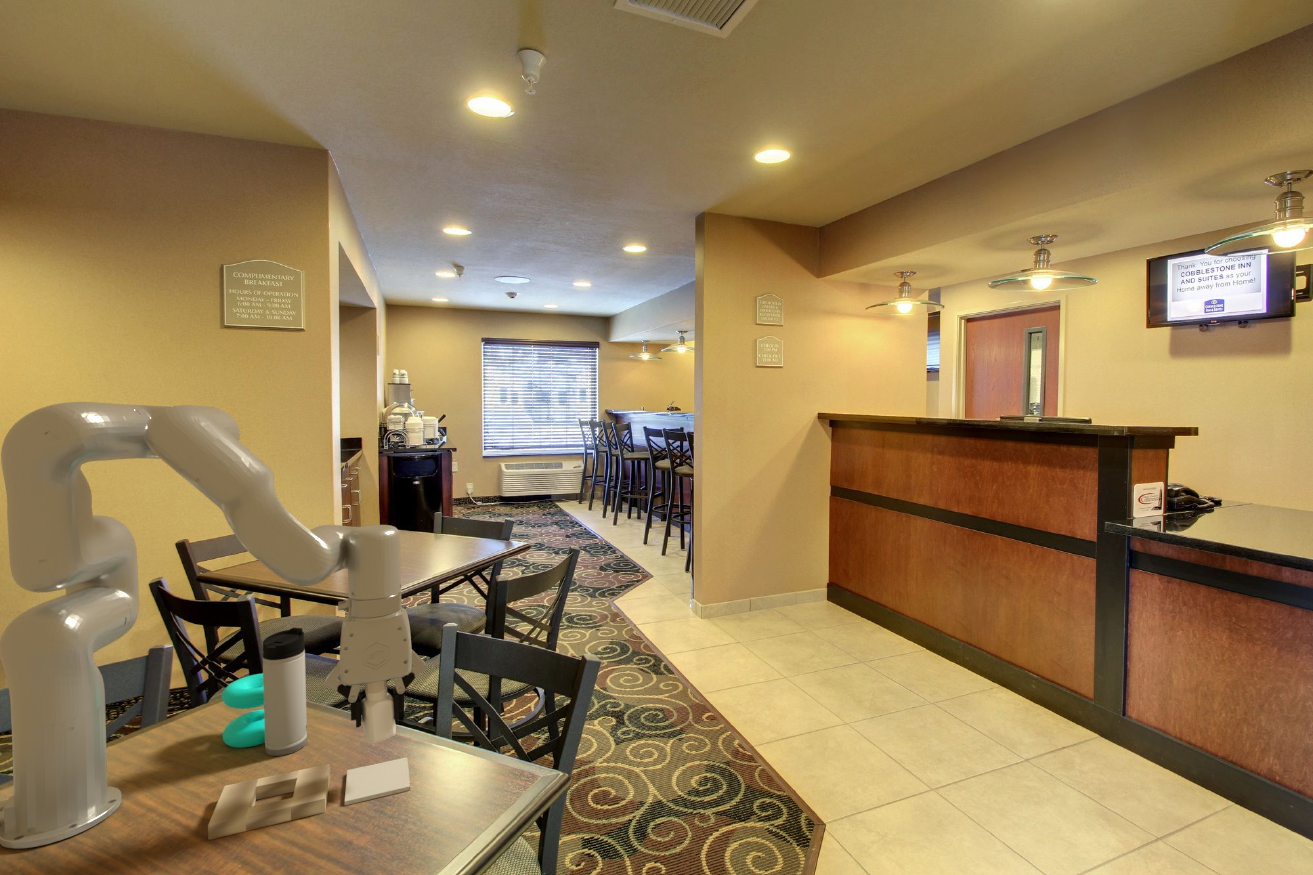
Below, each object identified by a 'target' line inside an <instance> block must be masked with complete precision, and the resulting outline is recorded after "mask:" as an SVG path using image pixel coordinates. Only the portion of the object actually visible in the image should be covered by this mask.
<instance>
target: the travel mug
mask: <svg viewBox="0 0 1313 875" xmlns="http://www.w3.org/2000/svg"><path fill="white" fill-rule="evenodd" d="M262 652H263V653H262V673H263V685H264V705H263V709H264V721H265V743H264V749H265V750H264V751H265V753H266V754H267V755H269V756H272V757H273V756H274V757H278V756H279V757H280V756H286V755H290V754H293V753H295V752H297V751H299V750H301V749H302V748H303V747H305V746H306V744H307V742H308V730H307V729H308V728H307V727H308V725H307V724H308V723H307V722H308V721H307V720H308V719H307V718H308V717H307V691H306V690H307V688H306V687H307V686H306V685H307V682H306V681H307V680H306V649H305V632H304V631H303V628H302V627H291V628H290V629H287V630H281V631H278V632H275V633H273V634H270V635H269V636H267V637H266V638H264V640H263V641H262Z"/></svg>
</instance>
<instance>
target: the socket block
mask: <svg viewBox="0 0 1313 875" xmlns="http://www.w3.org/2000/svg"><path fill="white" fill-rule="evenodd" d="M330 780H331V764H330V763H327V764H323V765H322V764H321V765H318V766H312V767H307V768H303V769H298V770H294V771H288V772H285V773H279V774H274V775H269V776H266V777H265V776H264V777H261V778H256V779H250V780H246V781H242V782H237V783H232V784H226V785H224V786H223V789H222V791H221V794H220V796H219V799H218V801H217V803H216V805H215V808H214V810H213V812H212V815H211V818H210V820H209V822H208V823H207V824H208V825H207V836H208V837H207V839H208V841H210V840H214V839H218V838H221V837H222V838H223V837H226V836H231V835H235V834H239V833H244V832H247V831H251V830H255V829H261V828H265V827H268V826H273V825H277V824H281V823H286V822H289V821H294V820H298V819H302V818H306V817H310V816H315V815H319V814H323V813H326V809H327V808H326V807H327V802H328V796H329V794H328V793H329V787H330ZM288 793H293V795H292V797H288V798H284V799H281V800H280V799H279V800H276V801H271V802H268V803H262V804H257V805H255V804H256V801H257V800H262V799H266V798H271V797H276V796H280V795H284V794H288Z"/></svg>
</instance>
